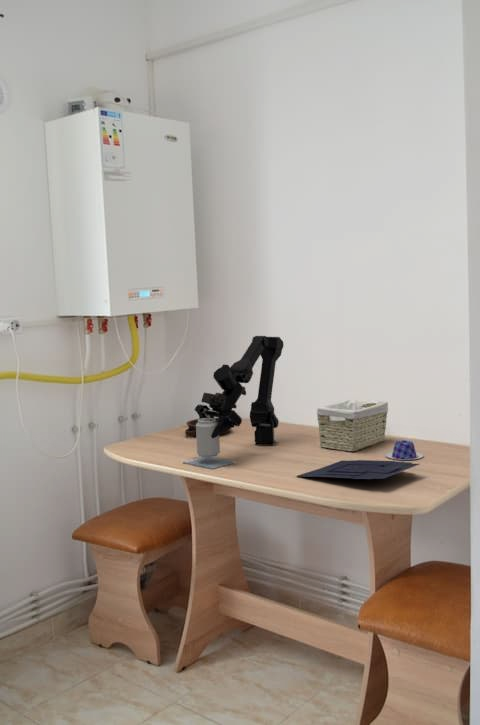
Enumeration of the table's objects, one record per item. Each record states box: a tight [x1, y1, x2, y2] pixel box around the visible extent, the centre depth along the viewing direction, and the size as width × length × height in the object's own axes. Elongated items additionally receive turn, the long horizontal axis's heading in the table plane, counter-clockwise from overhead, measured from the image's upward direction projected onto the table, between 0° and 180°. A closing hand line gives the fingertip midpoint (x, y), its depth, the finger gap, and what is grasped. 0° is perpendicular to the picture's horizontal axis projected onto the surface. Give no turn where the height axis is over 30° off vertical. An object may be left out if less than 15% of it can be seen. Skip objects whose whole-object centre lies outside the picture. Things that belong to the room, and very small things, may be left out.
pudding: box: [385, 439, 424, 461], centre depth 251 cm, size 12×12×5 cm
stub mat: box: [182, 456, 236, 470], centre depth 251 cm, size 14×10×1 cm
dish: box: [184, 417, 229, 437], centre depth 298 cm, size 18×22×5 cm
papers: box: [297, 459, 420, 480], centre depth 229 cm, size 24×30×4 cm
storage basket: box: [316, 398, 389, 452], centre depth 270 cm, size 24×16×15 cm
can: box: [195, 417, 221, 458], centre depth 250 cm, size 8×8×12 cm
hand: (204, 435), depth 249 cm, fingers closed on can, 7 cm apart
